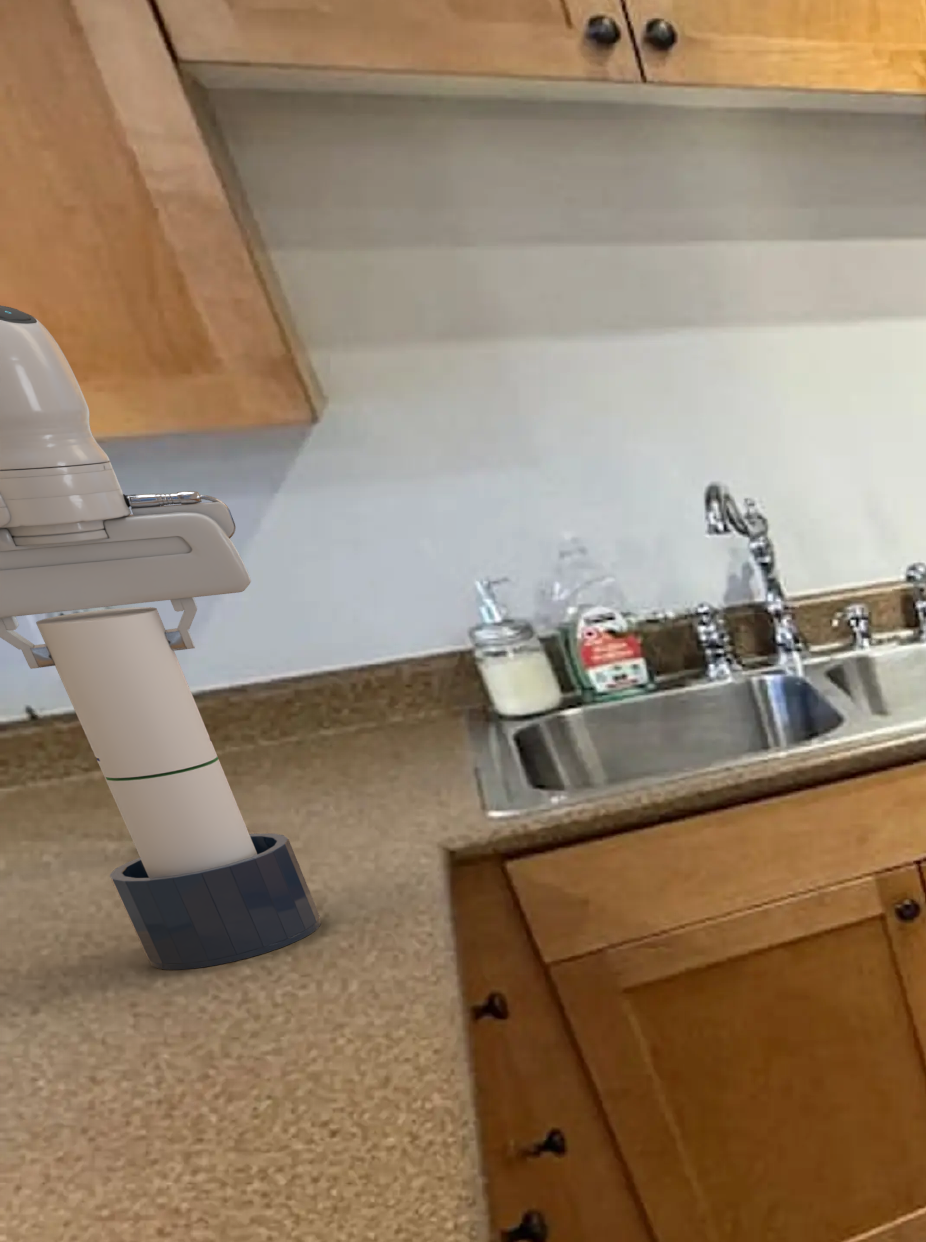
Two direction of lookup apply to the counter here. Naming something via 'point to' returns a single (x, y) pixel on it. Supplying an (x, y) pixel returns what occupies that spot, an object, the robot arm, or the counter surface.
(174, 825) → the cylindrical container
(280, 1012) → the counter surface
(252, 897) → the crock
